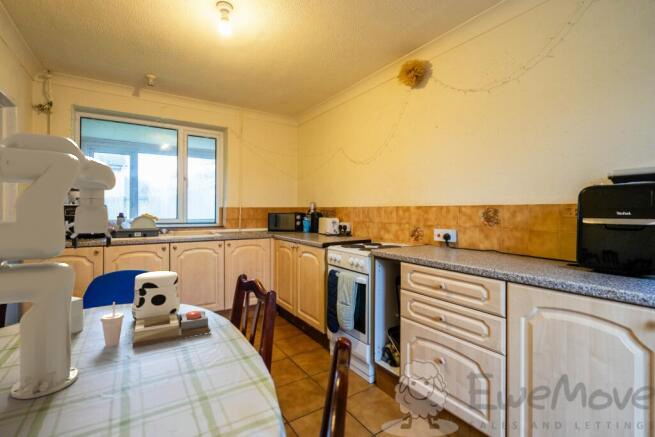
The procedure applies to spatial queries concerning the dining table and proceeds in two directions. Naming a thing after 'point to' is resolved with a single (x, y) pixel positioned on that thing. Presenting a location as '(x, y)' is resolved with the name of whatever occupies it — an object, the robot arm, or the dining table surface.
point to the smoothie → (112, 327)
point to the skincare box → (76, 314)
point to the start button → (193, 315)
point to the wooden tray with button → (168, 328)
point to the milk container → (155, 294)
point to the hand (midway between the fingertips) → (92, 247)
